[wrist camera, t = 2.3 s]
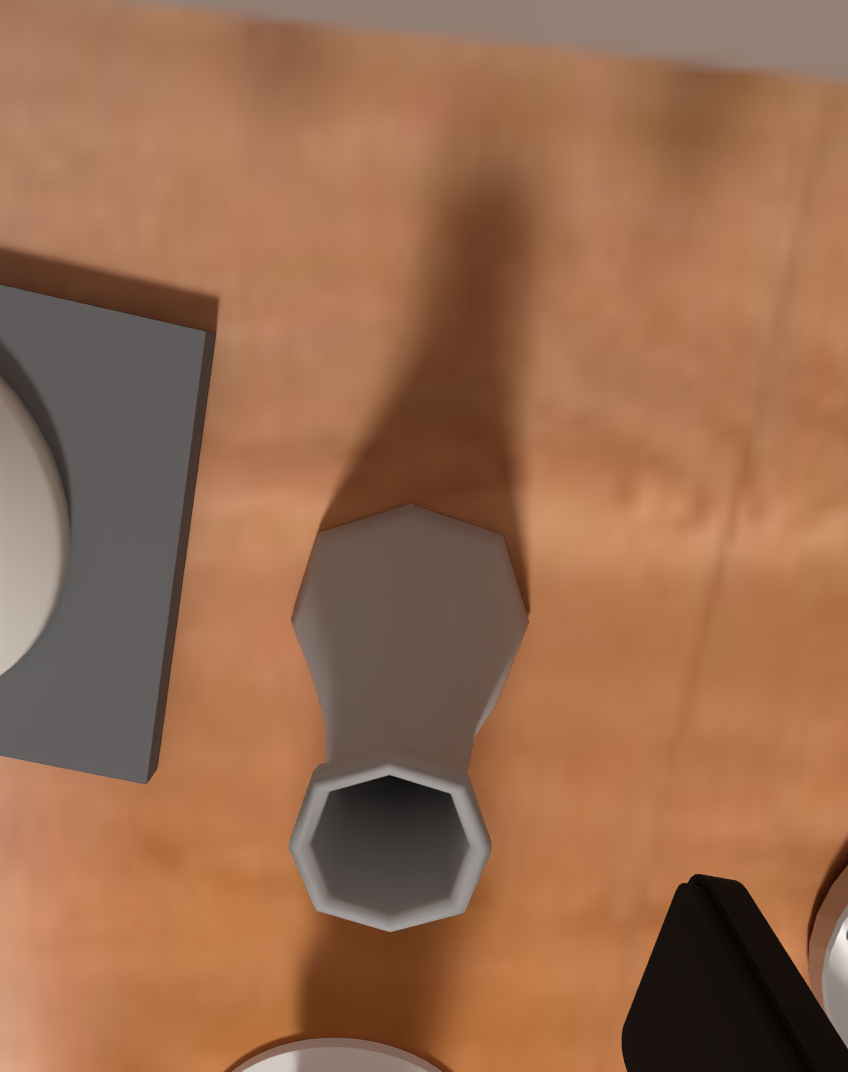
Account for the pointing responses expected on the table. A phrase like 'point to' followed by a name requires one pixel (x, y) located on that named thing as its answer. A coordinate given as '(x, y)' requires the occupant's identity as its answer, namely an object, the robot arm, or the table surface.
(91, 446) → the saucer mat
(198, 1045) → the table surface
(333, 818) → the flask
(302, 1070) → the white upright piece
